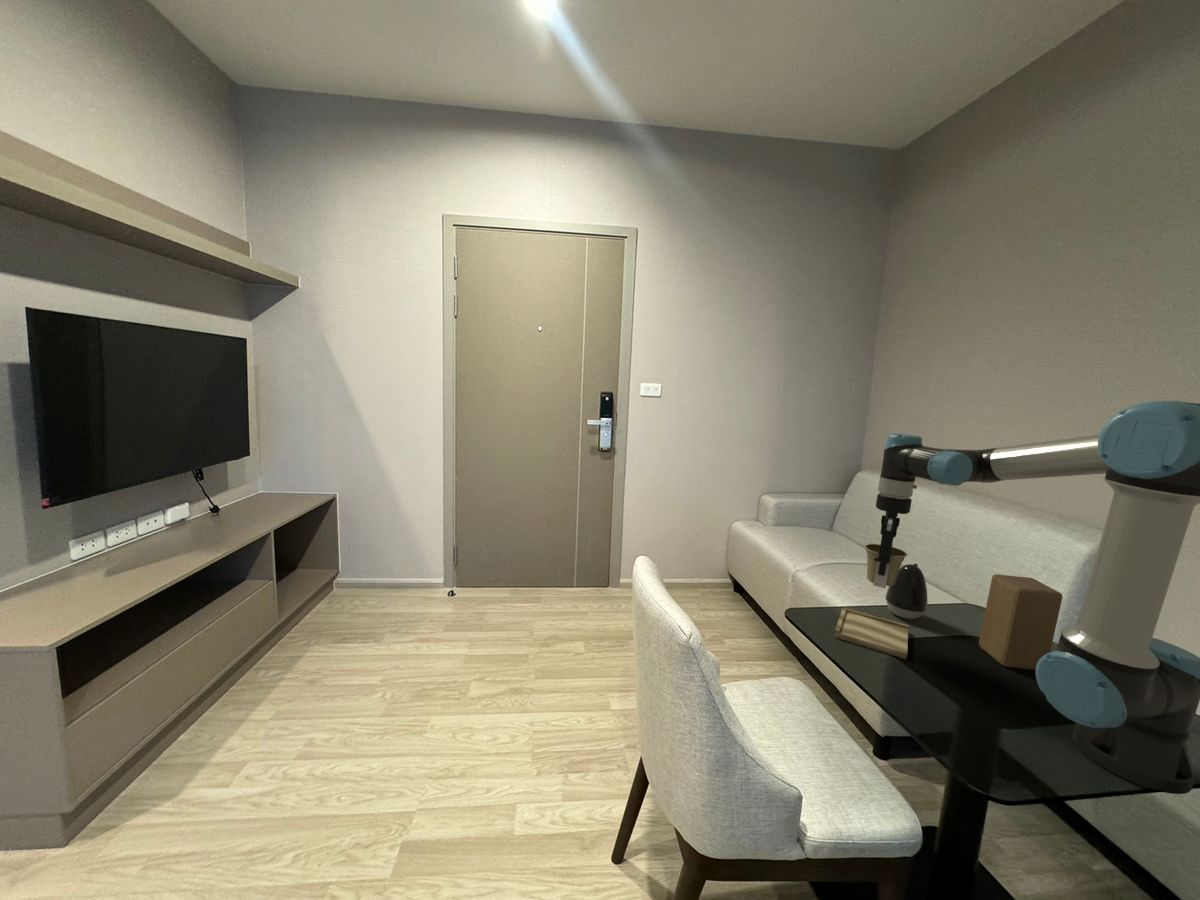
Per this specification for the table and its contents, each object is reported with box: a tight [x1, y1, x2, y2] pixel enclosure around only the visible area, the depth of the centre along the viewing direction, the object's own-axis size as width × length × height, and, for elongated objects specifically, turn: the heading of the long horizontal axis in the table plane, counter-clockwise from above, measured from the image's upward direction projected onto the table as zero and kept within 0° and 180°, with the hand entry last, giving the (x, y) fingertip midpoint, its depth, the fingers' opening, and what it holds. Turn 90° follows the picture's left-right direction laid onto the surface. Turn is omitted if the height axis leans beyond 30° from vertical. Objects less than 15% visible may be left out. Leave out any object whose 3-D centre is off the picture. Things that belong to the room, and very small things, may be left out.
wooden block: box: [978, 573, 1063, 671], centre depth 122 cm, size 10×10×20 cm
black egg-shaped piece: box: [885, 563, 928, 620], centre depth 143 cm, size 10×10×15 cm
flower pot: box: [864, 543, 907, 587], centre depth 128 cm, size 9×9×9 cm
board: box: [833, 606, 909, 660], centre depth 131 cm, size 16×16×2 cm
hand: (880, 580), depth 128 cm, fingers closed on flower pot, 8 cm apart
